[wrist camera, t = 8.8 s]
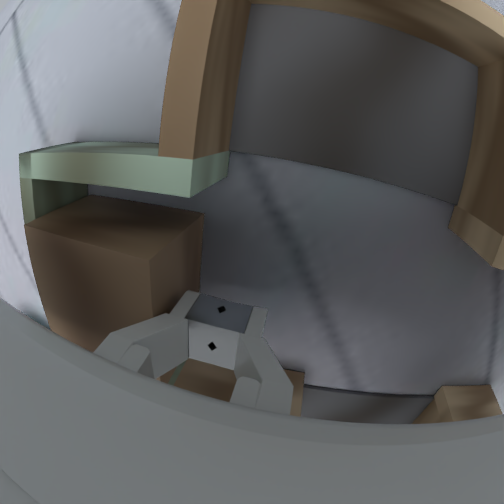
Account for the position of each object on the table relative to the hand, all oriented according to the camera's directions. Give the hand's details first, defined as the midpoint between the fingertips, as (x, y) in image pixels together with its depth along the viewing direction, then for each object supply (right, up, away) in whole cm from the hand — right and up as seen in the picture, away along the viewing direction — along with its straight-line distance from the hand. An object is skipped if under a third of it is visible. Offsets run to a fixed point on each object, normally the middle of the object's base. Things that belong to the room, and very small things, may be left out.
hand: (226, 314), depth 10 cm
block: (-4, +2, +3) cm, 5 cm away
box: (+5, 0, +1) cm, 5 cm away
